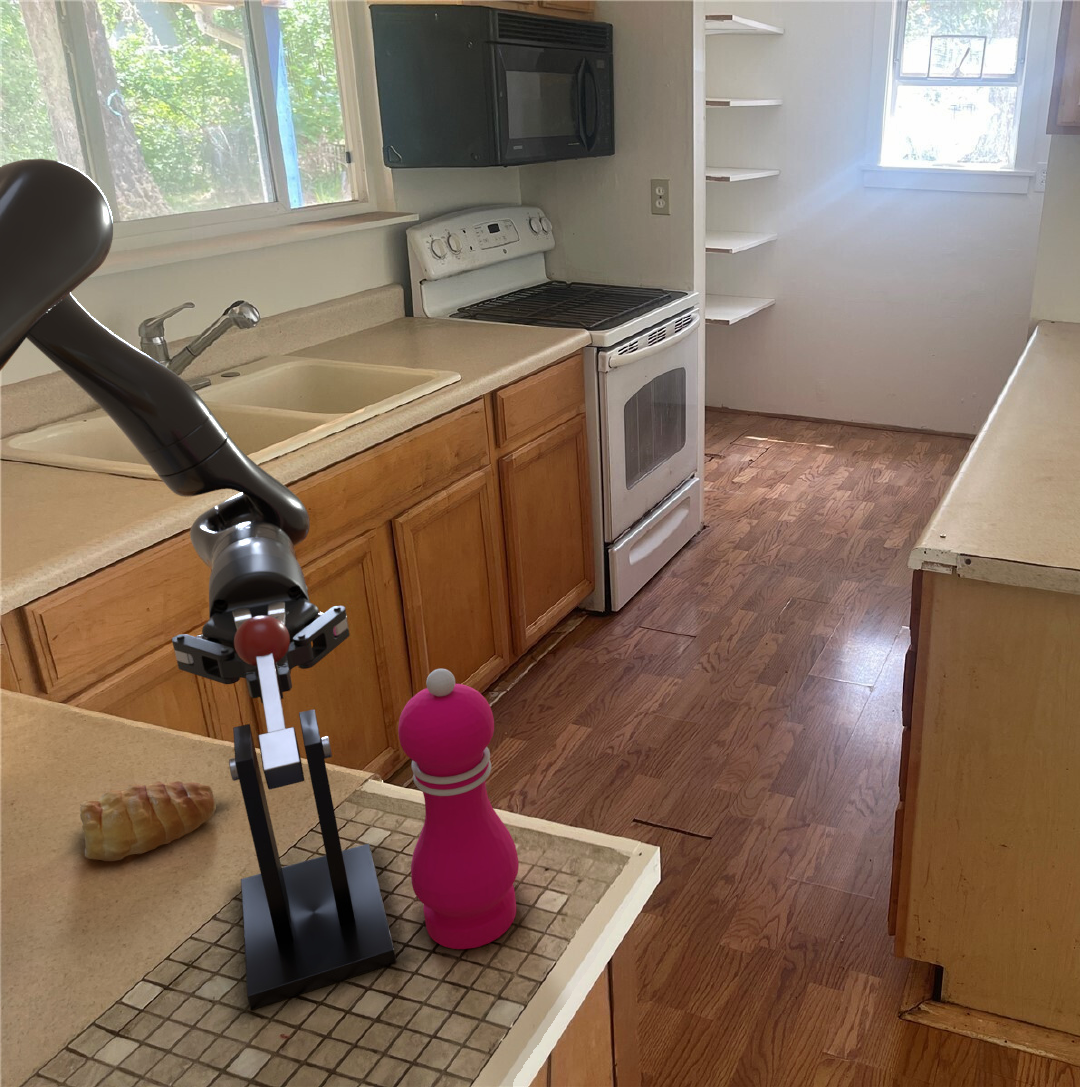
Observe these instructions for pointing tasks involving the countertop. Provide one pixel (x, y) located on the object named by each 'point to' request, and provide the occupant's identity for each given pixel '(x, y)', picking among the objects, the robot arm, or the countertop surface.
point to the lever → (271, 698)
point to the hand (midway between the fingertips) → (270, 689)
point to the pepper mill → (458, 816)
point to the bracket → (306, 892)
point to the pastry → (143, 818)
